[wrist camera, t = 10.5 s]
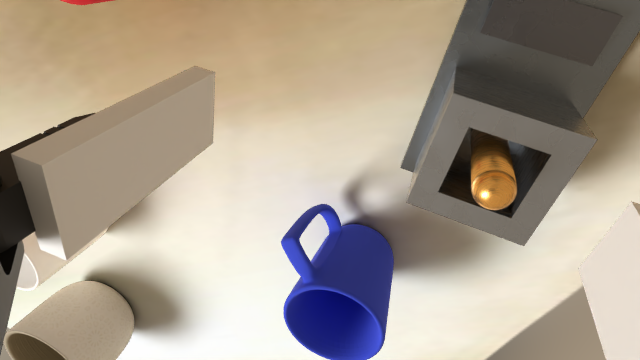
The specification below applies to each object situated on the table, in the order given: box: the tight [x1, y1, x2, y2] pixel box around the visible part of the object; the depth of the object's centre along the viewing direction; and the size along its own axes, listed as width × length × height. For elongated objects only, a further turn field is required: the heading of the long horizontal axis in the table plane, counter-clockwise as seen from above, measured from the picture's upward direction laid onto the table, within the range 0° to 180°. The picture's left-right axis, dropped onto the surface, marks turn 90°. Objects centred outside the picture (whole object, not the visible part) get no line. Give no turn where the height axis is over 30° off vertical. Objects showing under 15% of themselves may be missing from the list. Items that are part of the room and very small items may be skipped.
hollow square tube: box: [406, 68, 597, 246], centre depth 27 cm, size 8×8×6 cm
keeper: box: [401, 0, 640, 210], centre depth 24 cm, size 16×10×10 cm, turn 166°
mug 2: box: [281, 204, 394, 360], centre depth 35 cm, size 8×12×10 cm
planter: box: [4, 281, 134, 360], centre depth 55 cm, size 12×12×11 cm
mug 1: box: [16, 228, 108, 291], centre depth 45 cm, size 12×8×10 cm
